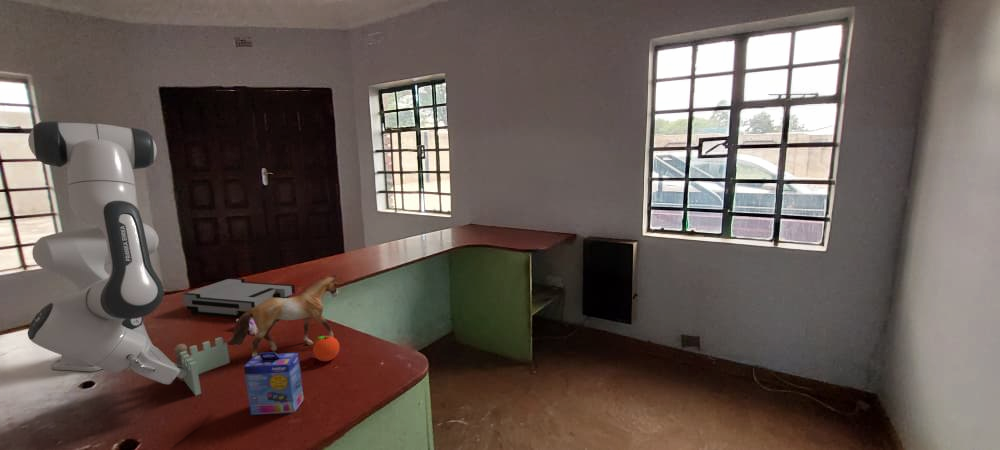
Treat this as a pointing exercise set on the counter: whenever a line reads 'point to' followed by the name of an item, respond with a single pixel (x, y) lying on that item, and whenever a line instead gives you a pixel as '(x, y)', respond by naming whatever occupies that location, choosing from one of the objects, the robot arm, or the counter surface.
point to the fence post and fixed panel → (205, 355)
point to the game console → (233, 297)
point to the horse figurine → (286, 312)
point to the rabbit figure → (252, 326)
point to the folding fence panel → (190, 373)
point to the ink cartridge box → (274, 383)
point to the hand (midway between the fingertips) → (182, 372)
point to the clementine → (326, 348)
